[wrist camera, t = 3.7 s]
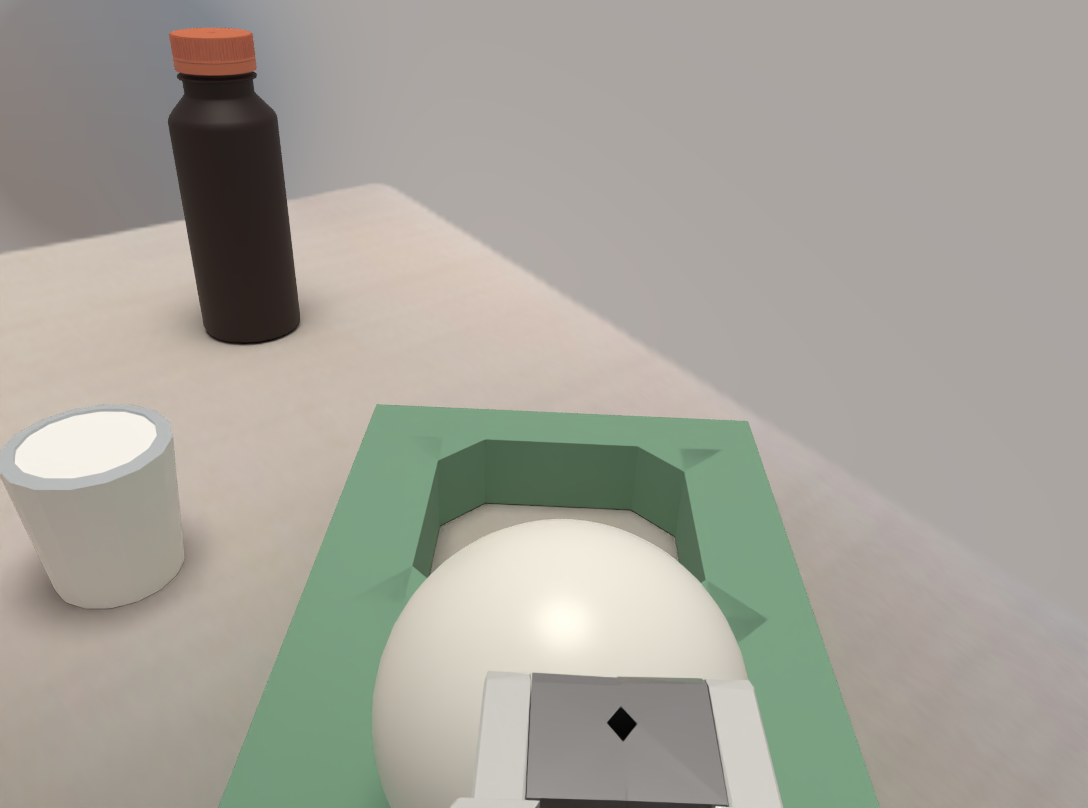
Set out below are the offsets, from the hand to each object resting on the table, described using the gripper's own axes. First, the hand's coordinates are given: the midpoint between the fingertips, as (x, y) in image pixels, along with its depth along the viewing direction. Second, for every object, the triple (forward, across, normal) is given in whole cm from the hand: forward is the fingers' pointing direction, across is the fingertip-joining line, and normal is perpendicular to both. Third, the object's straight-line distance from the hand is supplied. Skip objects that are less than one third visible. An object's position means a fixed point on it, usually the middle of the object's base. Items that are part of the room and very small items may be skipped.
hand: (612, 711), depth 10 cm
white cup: (+24, +21, +19) cm, 37 cm away
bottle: (+51, +23, +19) cm, 59 cm away
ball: (+9, 0, +10) cm, 14 cm away
